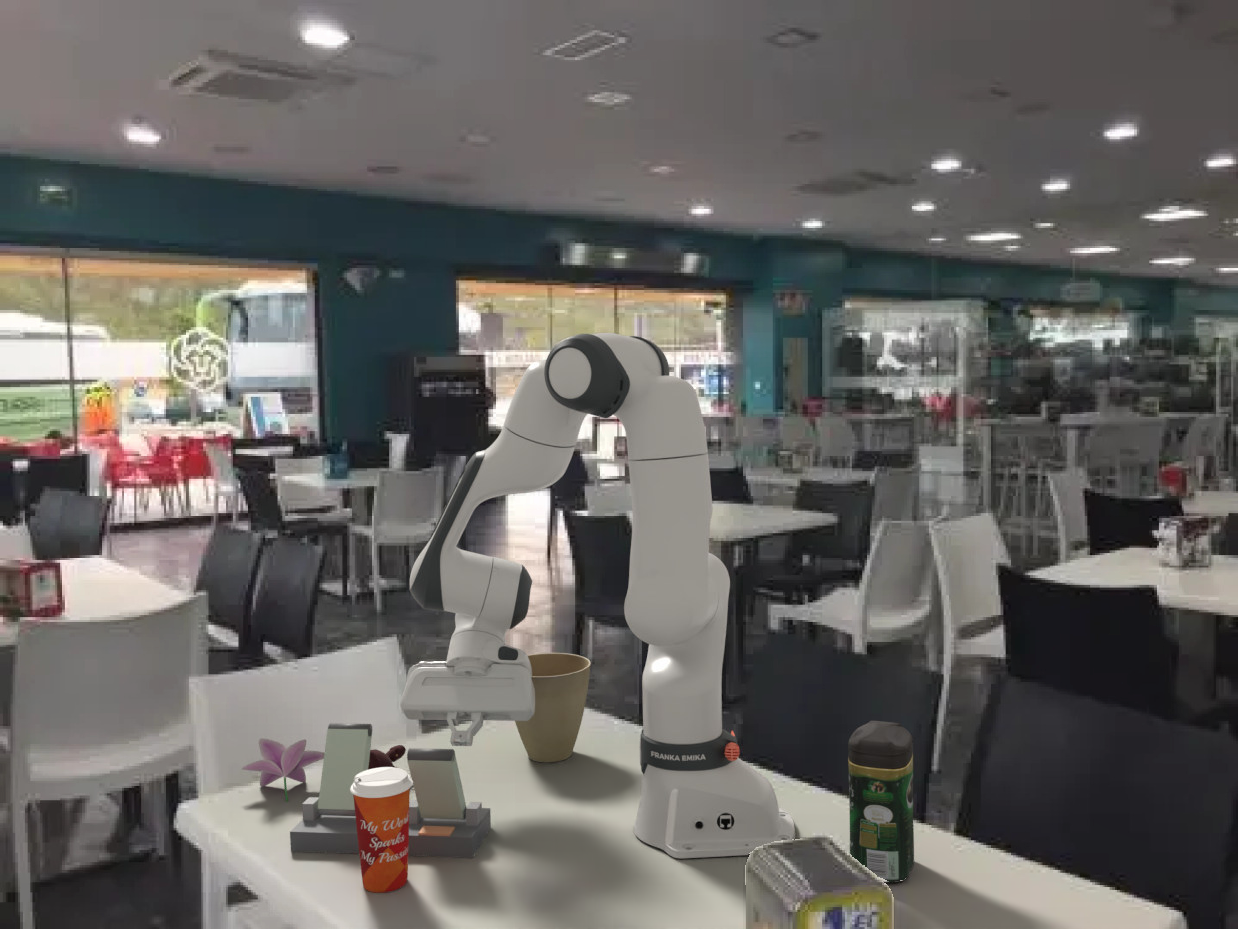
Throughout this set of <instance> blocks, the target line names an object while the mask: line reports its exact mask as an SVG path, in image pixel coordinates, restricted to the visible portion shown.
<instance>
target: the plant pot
mask: <svg viewBox="0 0 1238 929" xmlns="http://www.w3.org/2000/svg"><path fill="white" fill-rule="evenodd" d="M527 656H528V658H529V661H530V663H531V667H532V678H531V679H532V682H533V685H534V689H535V712H534V715H533V716H532V718H531V719H530V720H528V721H514V723H515V726H516V728H517V731H518V734H519V737H520V740H521V742H522V744H523V747H524V749H525V751H526V752H525V753H526V754H527V757H528V758H529V759H530V760H531V761H534V762H538V763H557V762H561V761H564V760H567V759H569V758H570V757H571V755H572V754H573V751H574V748H575V746H576V742H577V739H578V736H579V732H580V728H581V724H582V720H583V717H584V711H585V707H586V703H587V695H588V689H589V683H590V682H589V681H590V673H591V672H590V671H591V663H592V662H591V661H590V659H589V658H587V657H585V656H581V655H579V654H575V653H566V652H545V653H544V652H543V653H534V654H533V653H532V654H527Z"/></svg>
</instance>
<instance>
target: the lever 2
mask: <svg viewBox="0 0 1238 929" xmlns="http://www.w3.org/2000/svg"><path fill="white" fill-rule="evenodd" d="M406 759H407V760H406V761H407V766H408V769H409V770H408V771H409V773H410V774H409V775H410V779H411V780H412V781H413V784H412V786H413V790H414V793H415V798H416V800H417V803H418V807H419V811H420V815H421V818H430V819H463V820H465V818H466V808H467V802H466V799H465V794H464V789H463V785H462V784H463V783H462V779H461V774H460V771H459V770H460V769H459V766H458V762H457V757H456V750H455V749H453V748H420V747H419V748H415V747H412V748H411V747H409V748H408V750H407V753H406Z"/></svg>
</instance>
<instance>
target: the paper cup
mask: <svg viewBox="0 0 1238 929" xmlns="http://www.w3.org/2000/svg"><path fill="white" fill-rule="evenodd" d="M395 767H396V766H395ZM395 767H380V768H373V769H369V770H366V771H363V772H361V773H359V774H357V775H356V776H355V778H354V781H353V784H352V786H351V788H350V791H351V793H352V794H353V797H354V807H355V816H356V826H357V836H358V846H359V854H358V855H359V863H360V871H361V880H362V886H363V888H364V890H365V891H368V892H370V893H375V894H381V893H382V894H383V893H390V892H394V891H397V890H399V889H401V888H403V887H405V885H406V884H407V882H408V876H409V875H408V872H409V856H408V846H409V802H410V796H411V795H410V789H411V787H412V786H413V781H412V778H411V774H409V773H408V772H407V771H406V770H405V769H404V768H399V767H397V768H395Z"/></svg>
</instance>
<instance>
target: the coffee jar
mask: <svg viewBox="0 0 1238 929" xmlns="http://www.w3.org/2000/svg"><path fill="white" fill-rule="evenodd" d="M847 743H848V744H847V745H848V755H847V756H848V757H847V761H848V762H847V763H848V764H847V765H848V787H849V788H848V789H849V790H848V792H849V794H848V795H849V797H848V798H849V800H848V801H849V804H848V805H849V855H850V854H851V855H852V857H854V858H855V859H857V860H858V861H859V862H860V863H861V864H862V865H865V867H867V868H868V869H869V870H871V871H872V872H873V873H875V874H876V875H877V877H880V878H883V879H885V880H887V881H889V882H888V883H896V882H895V881H900V880H904V879H905V878H906V879H908V878H909V876H910V874H911V872H912V870H913V867H914V864H915V836H914V746H913V744H914V740H913V736H912V734H911V733H910V732H909V730H908V729H906V728H905V727H904V726H902V724H901V723H898V722H890V721H880V720H870V721H869V722H867V723H866V724H862V725H861V726H859V727H858V728H856V729H855V730H854V731H853V732H852V734H851V735H850V736H849V739H848V742H847ZM906 879H905V880H906ZM905 880H904V881H905Z"/></svg>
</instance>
